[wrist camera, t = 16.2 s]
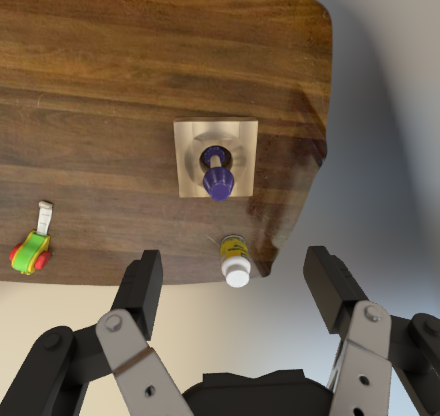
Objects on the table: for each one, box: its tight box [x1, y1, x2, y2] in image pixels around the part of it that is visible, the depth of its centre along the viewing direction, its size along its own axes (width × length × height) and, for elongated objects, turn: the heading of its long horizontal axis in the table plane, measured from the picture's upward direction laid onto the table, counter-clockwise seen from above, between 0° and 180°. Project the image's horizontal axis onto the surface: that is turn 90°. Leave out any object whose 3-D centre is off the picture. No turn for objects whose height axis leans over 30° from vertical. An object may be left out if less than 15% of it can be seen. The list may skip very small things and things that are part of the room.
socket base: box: [173, 117, 258, 197], centre depth 46 cm, size 14×14×4 cm
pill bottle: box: [220, 235, 251, 287], centre depth 54 cm, size 6×6×11 cm
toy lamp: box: [203, 145, 234, 201], centre depth 40 cm, size 5×5×17 cm
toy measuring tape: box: [9, 201, 53, 275], centre depth 52 cm, size 6×19×7 cm, turn 152°
